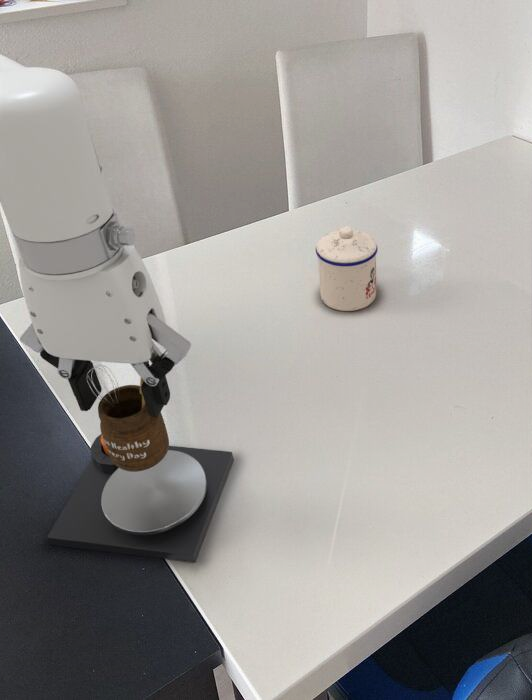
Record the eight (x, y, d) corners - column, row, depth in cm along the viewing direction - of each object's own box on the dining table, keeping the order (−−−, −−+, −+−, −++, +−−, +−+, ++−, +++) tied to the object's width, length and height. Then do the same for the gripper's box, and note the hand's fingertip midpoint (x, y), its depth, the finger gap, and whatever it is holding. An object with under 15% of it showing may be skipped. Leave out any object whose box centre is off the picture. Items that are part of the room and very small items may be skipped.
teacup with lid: (380, 311, 102) (379, 244, 94) (319, 314, 102) (314, 247, 94) (374, 268, 111) (373, 203, 104) (318, 270, 111) (314, 206, 103)
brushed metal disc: (84, 529, 70) (82, 525, 69) (127, 449, 78) (126, 445, 78) (187, 541, 68) (185, 537, 68) (219, 458, 76) (218, 454, 76)
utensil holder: (125, 427, 72) (95, 339, 64) (182, 433, 71) (158, 344, 63) (100, 470, 67) (64, 381, 60) (160, 478, 66) (132, 387, 59)
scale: (50, 545, 72) (41, 528, 70) (110, 441, 83) (103, 423, 81) (195, 563, 70) (190, 546, 68) (236, 453, 81) (232, 436, 79)
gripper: (191, 220, 55) (224, 384, 66) (-5, 210, 57) (60, 370, 69) (157, 272, 49) (199, 441, 61) (-60, 258, 51) (21, 424, 63)
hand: (125, 402), depth 64 cm, fingers closed on utensil holder, 6 cm apart
